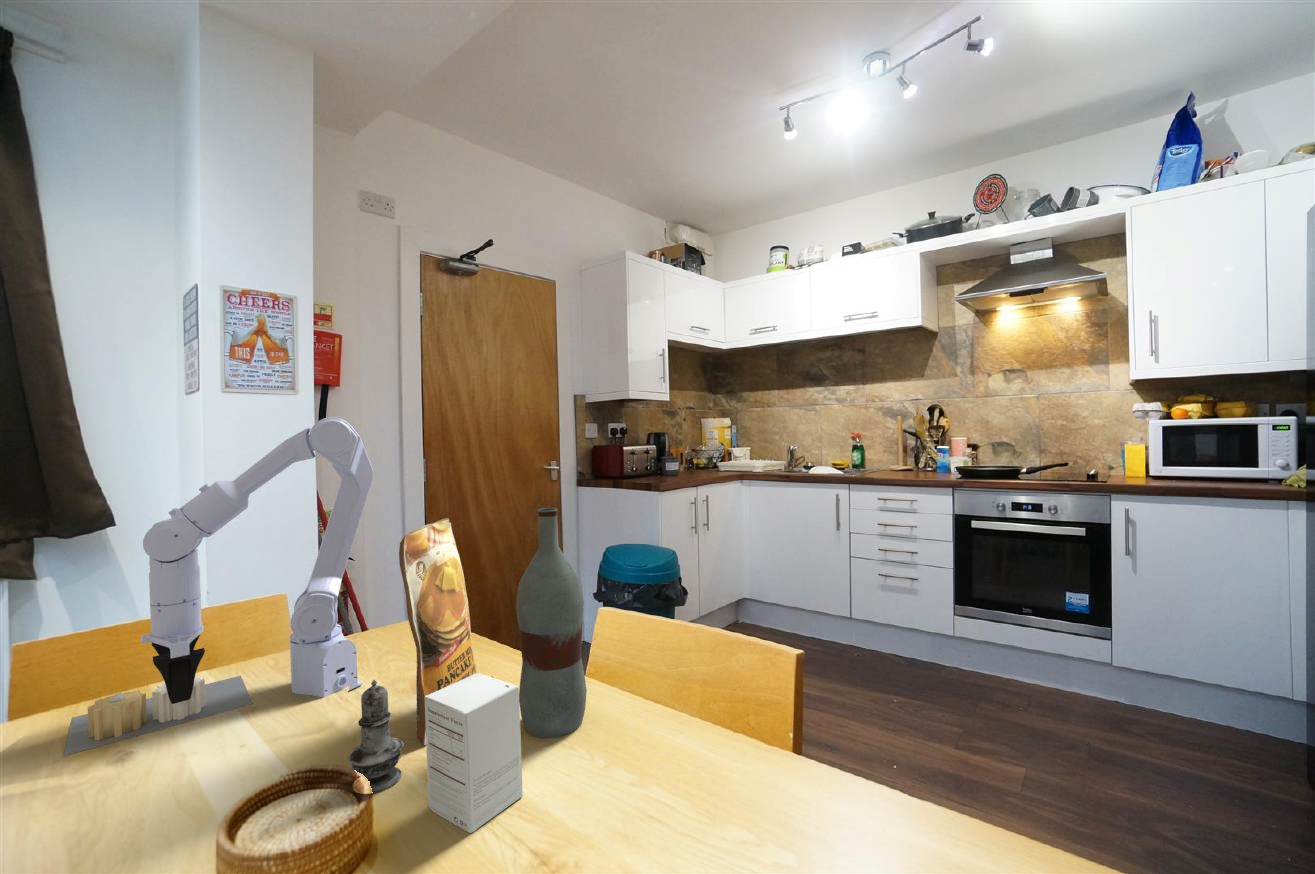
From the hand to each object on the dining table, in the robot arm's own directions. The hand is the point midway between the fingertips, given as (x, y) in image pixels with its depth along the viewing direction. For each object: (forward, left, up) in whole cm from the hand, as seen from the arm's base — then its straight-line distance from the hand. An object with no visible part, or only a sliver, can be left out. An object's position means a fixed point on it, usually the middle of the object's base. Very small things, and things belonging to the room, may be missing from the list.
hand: (179, 692), depth 85 cm
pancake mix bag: (-36, -15, -4) cm, 40 cm away
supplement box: (-54, -1, -4) cm, 55 cm away
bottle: (-52, -19, -4) cm, 56 cm away
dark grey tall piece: (-40, 0, -4) cm, 41 cm away
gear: (0, 0, -3) cm, 3 cm away
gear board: (+3, 0, -4) cm, 5 cm away
